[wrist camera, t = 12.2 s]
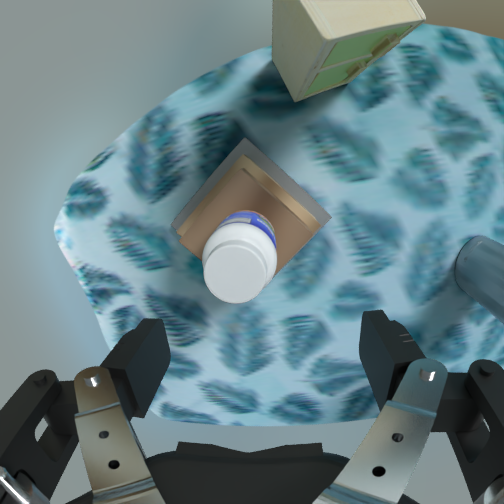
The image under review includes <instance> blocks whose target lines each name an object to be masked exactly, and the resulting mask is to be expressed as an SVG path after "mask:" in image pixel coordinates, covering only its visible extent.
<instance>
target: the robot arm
mask: <svg viewBox="0 0 504 504" xmlns="http://www.w3.org/2000/svg"><path fill="white" fill-rule="evenodd" d="M455 276H456V281H457V284H458V285H459V287H460V288H461V289H462V290H464V291H465V292H466V293H467V294H468V295H470V296H471V297H472V298H473V299H474V300H476V301H477V302H478V303H479V304H480V305H482V306H483V307H484V308H485V309H486V310H488V311H489V312H490V313H491V314H492V315H493V316H495V317H496V318H497V319H498V320H499V321H500V322H502V323H503V324H504V245H502V244H500V243H498V242H496V241H494V240H492V239H490V238H488V237H485V236H477V237H474V238H472V239H471V240H470V241H468V242H467V243H466V244H465V246H464V247H463V249H462V250H461V252H460V254H459V256H458V259H457V262H456V267H455ZM359 355H360V359H361V362H362V365H363V367H364V370H365V372H366V375H367V377H368V380H369V383H370V385H371V388H372V391H373V393H374V396H375V399H376V401H377V404H378V407H379V409H380V414H379V416H378V417H377V419H376V421H375V422H374V424H373V426H372V427H371V429H370V430H369V432H368V434H367V435H366V437H365V438H364V440H363V441H362V443H361V444H360V446H359V447H358V449H357V450H356V452H355V453H354V455H353V456H352V458H351V459H349V458H346V457H344V456H340V455H337V454H331V453H325V452H323V449H322V443H312V444H297V445H284V446H280V447H275V448H271V449H266V450H261V451H256V452H250V453H246V452H241V451H236V450H232V449H228V448H224V447H220V446H216V445H213V444H200V443H189V442H178V446H177V449H176V451H171V452H165V453H161V454H157V455H155V456H152V457H149V458H147V457H146V455H145V453H144V451H143V449H142V446H141V444H140V442H139V440H138V438H137V436H136V433H135V431H134V429H133V426H132V424H131V422H130V421H131V419H132V417H139V418H144V417H145V415H146V413H147V411H148V409H149V406H150V404H151V402H152V400H153V398H154V396H155V394H156V392H157V389H158V387H159V385H160V383H161V381H162V379H163V377H164V375H165V373H166V371H167V368H168V366H169V364H170V358H171V355H170V348H169V344H168V340H167V335H166V331H165V327H164V323H163V321H162V319H149V318H144V319H143V320H142V321H141V322H140V323H139V325H138V326H137V327H136V329H132V330H131V331H129V332H128V333H126V334H125V335H123V337H122V338H121V339H120V340H119V342H118V344H116V345H115V347H114V348H113V350H112V351H111V352H110V353H109V355H108V356H107V357H106V358H105V360H104V361H103V362H102V364H101V365H100V366H94V367H89V368H86V369H84V370H82V371H81V372H79V373H78V374H77V375H76V377H75V378H74V381H59V380H58V378H57V376H56V374H55V373H54V372H53V371H51V370H40V371H37V372H35V373H33V374H31V375H30V376H29V377H28V378H27V379H26V380H25V381H24V383H23V384H22V385H21V386H20V387H19V389H18V390H17V391H16V392H15V393H14V395H13V396H12V397H11V398H10V399H9V400H8V402H7V403H6V404H5V405H4V407H3V408H2V409H1V410H0V504H50V502H49V501H50V499H51V497H52V495H53V492H54V490H55V488H56V486H57V484H58V482H59V480H60V478H61V476H62V474H63V472H64V470H65V468H66V466H67V464H68V462H69V460H70V458H71V456H72V454H73V452H74V450H75V448H76V446H77V444H78V442H80V446H81V451H82V455H83V459H84V462H85V466H86V470H87V473H88V478H89V481H90V484H91V488H92V490H91V491H89V492H87V493H86V494H84V495H82V496H80V497H78V498H76V499H74V500H72V501H70V502H68V503H66V504H419V503H417V502H416V501H414V500H413V499H411V498H410V497H408V496H406V495H404V494H403V492H404V490H405V488H406V486H407V484H408V482H409V480H410V478H411V476H412V473H413V471H414V469H415V467H416V465H417V463H418V460H419V458H420V456H421V453H422V451H423V449H424V446H425V444H426V441H427V439H428V436H429V434H430V432H446V433H447V435H448V437H449V440H450V442H451V444H452V447H453V449H454V452H455V455H456V457H457V460H458V462H459V465H460V467H461V470H462V473H463V475H464V478H465V481H466V483H467V486H468V489H469V492H470V495H471V498H472V501H473V504H504V370H503V369H502V367H501V366H500V365H499V364H497V363H496V362H493V361H491V360H486V359H481V360H476V361H474V362H473V363H472V364H471V365H470V367H469V370H468V373H450V372H448V371H447V368H446V367H445V366H444V365H443V364H442V363H441V362H439V361H437V360H433V359H427V358H426V357H425V355H424V354H423V352H422V351H421V350H420V348H419V347H418V345H417V344H416V342H415V341H413V338H412V337H411V335H409V332H408V331H407V330H406V328H405V327H404V326H403V325H401V324H400V323H398V322H397V321H395V320H393V321H390V320H389V319H388V317H387V316H386V314H385V313H384V311H383V310H373V311H364V312H363V315H362V323H361V333H360V342H359ZM43 417H44V419H45V421H46V422H47V424H48V427H47V428H46V430H45V431H44V433H43V434H42V436H41V437H40V439H39V441H38V442H37V441H36V439H35V429H36V427H37V425H38V424H39V422H40V421H41V419H42V418H43ZM483 419H485V420H486V422H487V424H488V426H489V429H490V432H489V430H488V428H487V426H486V425H485V423H484V421H483Z"/></svg>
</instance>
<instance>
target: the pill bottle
mask: <svg viewBox="0 0 504 504" xmlns="http://www.w3.org/2000/svg"><path fill="white" fill-rule="evenodd" d="M202 264H203V269H204V280H205V283H206V285H207V287H208V289H209V290H210V292H211V293H212V294H213V295H214V296H216V297H217V298H218V299H220V300H222V301H225V302H228V303H234V304H238V303H244V302H247V301H250V300H252V299H253V298H255V297H256V296H257V295H258V294H259V293H260V292H261V290H262V289H263V288H265V287H266V286H267V285H268V284H269V282H270V281H271V280H272V278H273V276H274V274H275V271H276V266H277V250H276V237H275V232H274V229H273V227H272V225H271V223H270V222H269V221H268V220H267V219H266V218H265V217H264V216H263V215H261V214H259V213H257V212H254V211H249V210H242V211H237V212H234V213H232V214H230V215H228V216H227V217H226V218H224V220H223V221H222V222H221V223H220V225H219V226H218V227H217V229H216V230H215V231H214V232H213V234H212V235H211V236H210V238H209V239H208V241H207V243H206V245H205V247H204V250H203V255H202Z"/></svg>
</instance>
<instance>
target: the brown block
mask: <svg viewBox="0 0 504 504" xmlns="http://www.w3.org/2000/svg"><path fill="white" fill-rule="evenodd" d="M242 210H249V211H254V212H257V213H259V214H261V215H263V216H264V217H265V218H266V219H267V220H268V221H269V222H270V223H271V225H272V227H273V229H274V232H275V237H276V250H277V266H276V271H275V274H276V273H277V272H278V271H279V270H280V269H281V268H282V267H283V266H284V265H285V264H286V263H287V262H288V261H289V260H290V259H291V258H292V257H293V256H294V255H295V254H296V253H297V252H298V251H299V250H300V248H301V247H302V246H303V245H304V244H305V243H306V242H307V241H308V240H309V239H310V238H311V237H312V236H313V233H314V232H315V231H316V230H317V229H318V228H319V227H320V226H321V225H320V223H319V222H318V221H317V220H316V219H315V217H314V216H313V215H312V214H310V213H309V212H308V211H307V210H306V209H305V208H304V207H303V206H302V205H301V204H300V203H299V202H298V201H297V200H296V199H294V198H293V197H292V196H291V195H290V194H289V193H288V192H287V191H286V190H285V189H284V188H283V187H281V186H280V185H279V184H278V183H277V182H276V181H275V180H274V179H273V178H271V177H270V176H269V175H268V174H267V173H266V172H265V171H264V170H263V169H261V168H260V167H259V166H258V165H257V164H256V163H255V162H253V161H252V160H251V159H250V158H249V157H248V156H247V155H244V154H242V156H241V157H240V158H239V159H238V160H237V161H236V162H235V163H234V164H233V166H232V167H231V168H230V169H229V170H228V171H227V172H226V174H225V175H224V176H223V177H222V178H221V179H220V180H219V182H218V183H217V184H216V185H215V186H214V187H213V189H212V190H211V191H210V192H209V193H208V194H207V196H206V197H205V198H204V199H203V200H202V201H201V203H200V204H199V205H198V206H197V207H196V209H195V210H194V211H193V212H192V213H191V215H190V216H189V217H188V218H187V220H186V221H185V222H184V223H183V224H182V226H181V227H180V228H179V229H178V231H177V233H178V234H179V235H180V236H181V239H180V240H179V242H180V243H181V244H182V245H184V246H185V247H186V248H187V249H188V250H189V251H190V252H192V253H193V254H194V255H195V256H196V257H198V258H199V259H200V260H201V261H202V255H203V250H204V247H205V245H206V243H207V241H208V239H209V238H210V236H211V235H212V234H213V232H214V231H215V230H216V229H217V227H218V226H219V225H220V223H221V222H222V221H223V220H224V218H226V217H227V216H228V215H230V214H232V213H234V212H237V211H242ZM275 274H274V275H275Z"/></svg>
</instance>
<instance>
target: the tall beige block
mask: <svg viewBox="0 0 504 504" xmlns="http://www.w3.org/2000/svg"><path fill="white" fill-rule="evenodd" d="M425 20H426V17H425V14H424V12H423V11H422V9H421V7H420V6H419V4H418V3H417V1H416V0H273V22H272V25H273V27H272V60H273V62H274V64H275V66H276V68H277V70H278V71H279V73H280V75H281V77H282V79H283V81H284V83H285V85H286V87H287V89H288V91H289V93H290V94H291V96H292V98H293V100H294V102H298V101H300V100H303V99H305V98H308V97H311V96H313V95H316V94H319V93H321V92H324V91H327V90H330V89H332V88H335V87H338V86H341V85H344V84H347V83H350V82H351V81H352V80H354V78H356V77H357V76H358V75H359V74H360V73H361V72H363V71H364V70H365V69H366V68H367V67H368V66H370V65H371V64H372V63H373V62H374V61H376V60H377V59H378V58H379V57H382V56H384V55H385V54H386V53H387V52H389V51H390V50H391V49H392V48H394V47H395V46H396V45H397V44H399V43H400V40H402V39H403V38H404V37H405V36H407V35H408V34H409V33H410V32H412V31H413V30H414V29H416V28H417V27H418V26H420V25H421V24H422V23H423V22H425Z"/></svg>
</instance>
